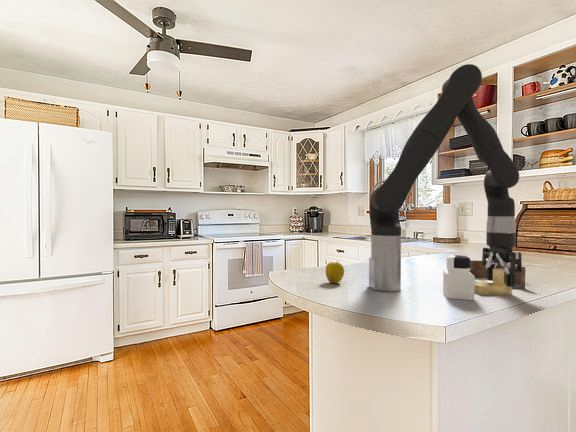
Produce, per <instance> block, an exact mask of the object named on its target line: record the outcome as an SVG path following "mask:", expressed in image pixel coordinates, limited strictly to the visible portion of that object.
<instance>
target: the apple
mask: <svg viewBox="0 0 576 432" xmlns="http://www.w3.org/2000/svg"><path fill="white" fill-rule="evenodd" d="M325 276H326V278H327V281H328V283H330V284H338V283H340V282H342V280H343V277H344V276H345V269H344V266H343V264H341V262H339V260H337V261H335V262H328V263H327V264H326V266H325Z"/></svg>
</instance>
